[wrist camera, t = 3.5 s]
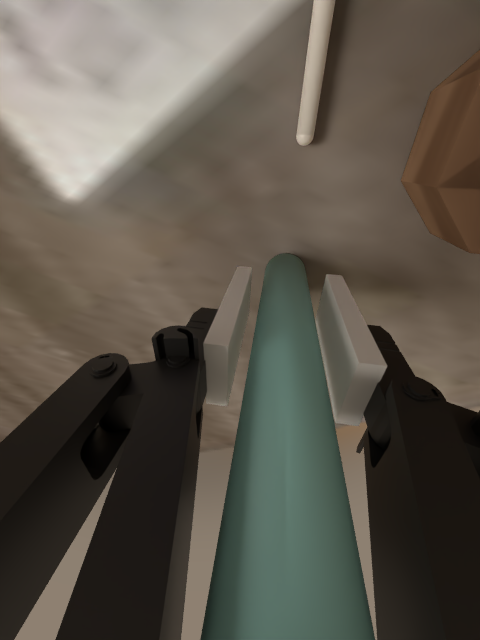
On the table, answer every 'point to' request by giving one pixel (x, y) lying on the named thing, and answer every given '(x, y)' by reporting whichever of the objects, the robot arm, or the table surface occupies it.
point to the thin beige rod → (314, 69)
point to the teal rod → (286, 490)
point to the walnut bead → (449, 160)
